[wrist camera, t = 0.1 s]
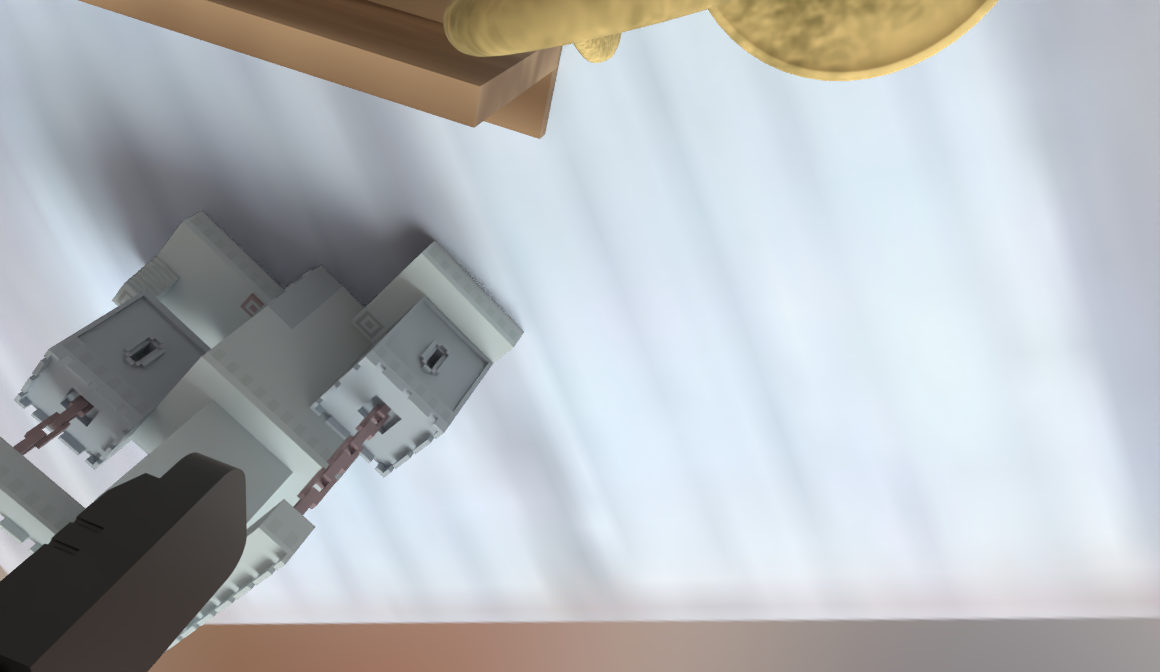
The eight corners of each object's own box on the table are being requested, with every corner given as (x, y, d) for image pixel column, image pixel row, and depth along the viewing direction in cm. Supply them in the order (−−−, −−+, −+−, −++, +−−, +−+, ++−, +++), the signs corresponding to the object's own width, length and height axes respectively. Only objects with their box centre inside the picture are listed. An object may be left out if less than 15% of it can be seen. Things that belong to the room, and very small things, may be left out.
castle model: (524, 331, 45) (247, 731, 25) (355, 464, 55) (51, 836, 34) (291, 91, 42) (-255, 321, 21) (153, 275, 51) (-321, 560, 31)
